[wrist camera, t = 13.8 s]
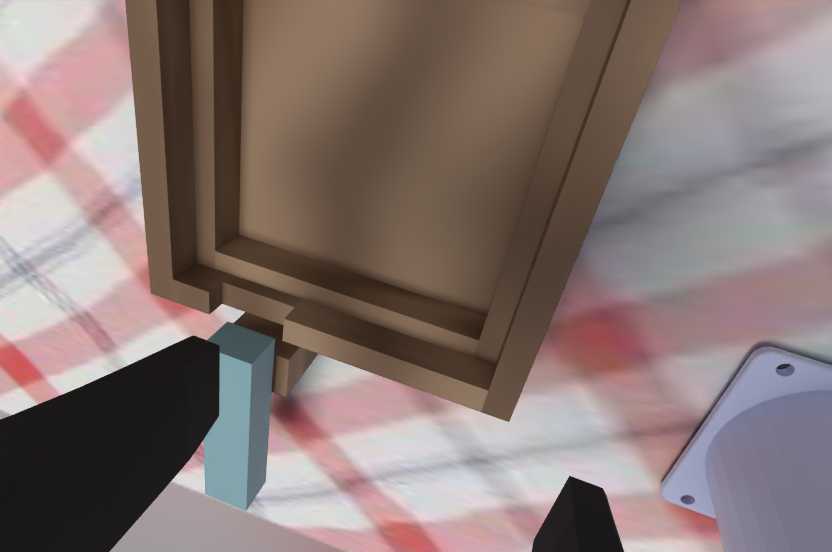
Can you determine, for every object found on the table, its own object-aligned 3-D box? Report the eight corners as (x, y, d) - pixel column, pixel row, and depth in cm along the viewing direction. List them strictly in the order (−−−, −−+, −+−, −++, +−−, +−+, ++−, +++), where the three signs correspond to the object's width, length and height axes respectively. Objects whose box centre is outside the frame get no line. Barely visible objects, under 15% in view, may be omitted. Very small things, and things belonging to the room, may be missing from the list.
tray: (681, -49, 14) (706, -60, 10) (497, 419, 23) (482, 486, 20) (203, -150, 16) (109, -185, 13) (210, 316, 25) (157, 362, 22)
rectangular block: (274, 338, 20) (251, 364, 18) (265, 481, 24) (246, 510, 23) (227, 321, 20) (201, 345, 19) (226, 465, 24) (205, 493, 23)
